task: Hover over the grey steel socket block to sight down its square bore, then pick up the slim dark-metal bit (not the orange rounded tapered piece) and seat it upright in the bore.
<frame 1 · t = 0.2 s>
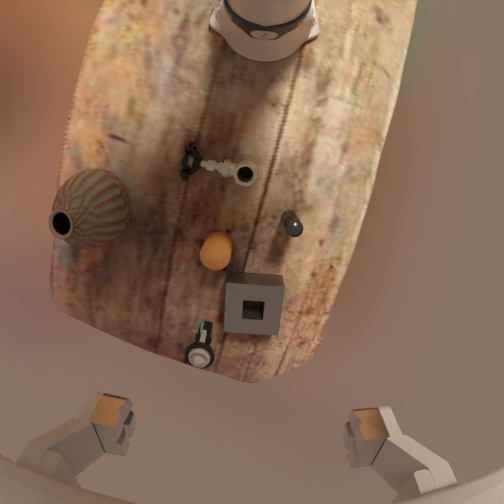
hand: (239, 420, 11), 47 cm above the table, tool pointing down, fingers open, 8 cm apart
bore block: (253, 297, 62), on the table
orange rounded tapered piece: (218, 244, 58), on the table
valve: (223, 166, 54), on the table
push button: (205, 332, 65), on the table
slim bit: (289, 217, 57), on the table
vase: (109, 200, 56), on the table
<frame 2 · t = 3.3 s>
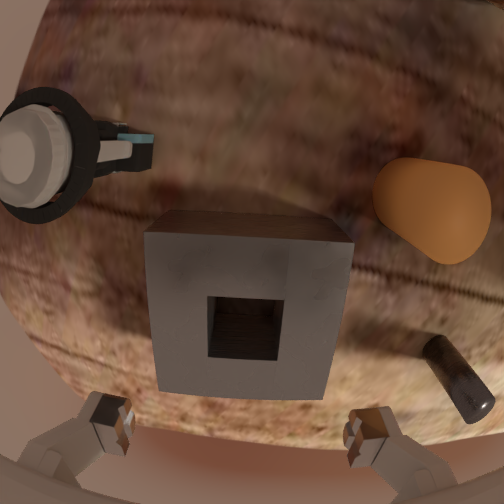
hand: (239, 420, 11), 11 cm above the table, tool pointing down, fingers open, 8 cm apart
bore block: (246, 289, 21), on the table
orange rounded tapered piece: (406, 195, 19), on the table
push button: (111, 146, 18), on the table
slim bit: (435, 348, 23), on the table
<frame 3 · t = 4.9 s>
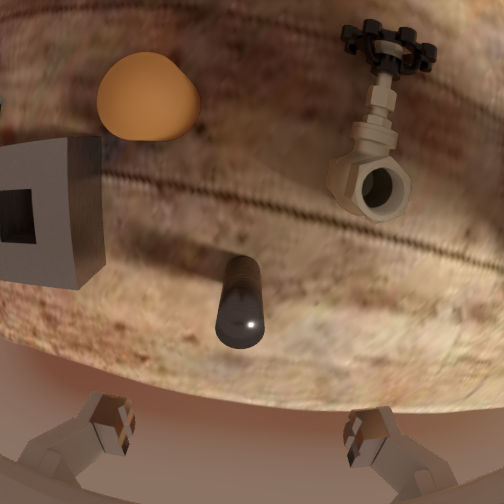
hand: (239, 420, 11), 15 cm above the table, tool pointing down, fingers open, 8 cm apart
bore block: (50, 202, 22), on the table
orange rounded tapered piece: (165, 106, 21), on the table
valve: (358, 126, 21), on the table
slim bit: (242, 272, 24), on the table
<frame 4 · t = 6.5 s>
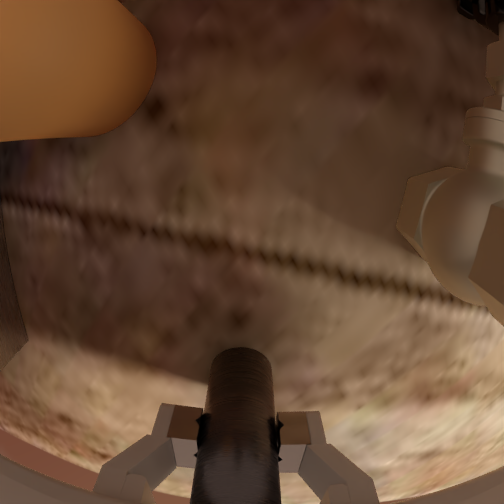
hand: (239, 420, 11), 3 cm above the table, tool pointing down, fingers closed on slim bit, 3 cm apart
orange rounded tapered piece: (93, 72, 9), on the table
valve: (452, 118, 10), on the table
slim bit: (241, 371, 13), on the table, touching gripper
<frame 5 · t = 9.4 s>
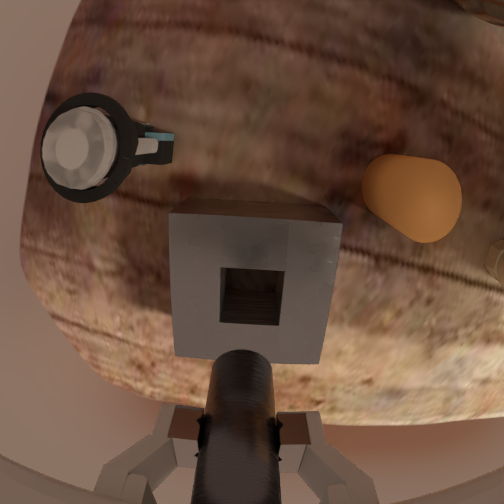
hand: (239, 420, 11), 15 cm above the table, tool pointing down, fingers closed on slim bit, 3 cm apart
bore block: (252, 267, 24), on the table
orange rounded tapered piece: (391, 186, 22), on the table
push button: (136, 143, 22), on the table
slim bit: (242, 373, 13), point 12 cm above the table, touching gripper
when the fingers open (6 cm above the table, at t = 12.2 s): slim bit drops 3 cm, resting in bore block.
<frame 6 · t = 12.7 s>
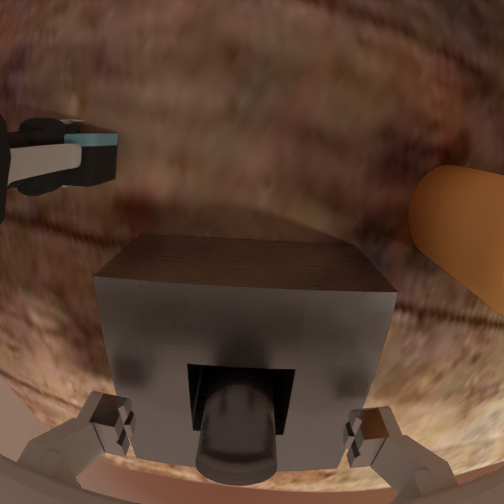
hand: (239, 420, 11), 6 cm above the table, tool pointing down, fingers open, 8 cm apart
bore block: (242, 334, 16), on the table
orange rounded tapered piece: (448, 213, 14), on the table
push button: (67, 151, 13), on the table
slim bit: (243, 335, 16), resting in bore block
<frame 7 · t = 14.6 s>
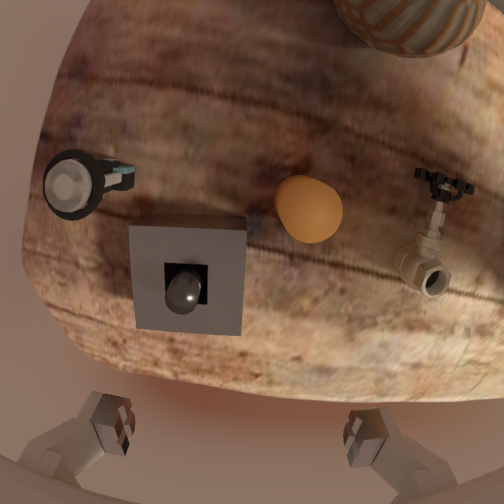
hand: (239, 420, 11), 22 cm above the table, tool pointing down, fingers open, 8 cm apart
bore block: (193, 263, 32), on the table
orange rounded tapered piece: (299, 200, 31), on the table
valve: (415, 225, 32), on the table
push button: (108, 173, 29), on the table
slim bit: (194, 264, 32), resting in bore block
vase: (376, 14, 25), on the table
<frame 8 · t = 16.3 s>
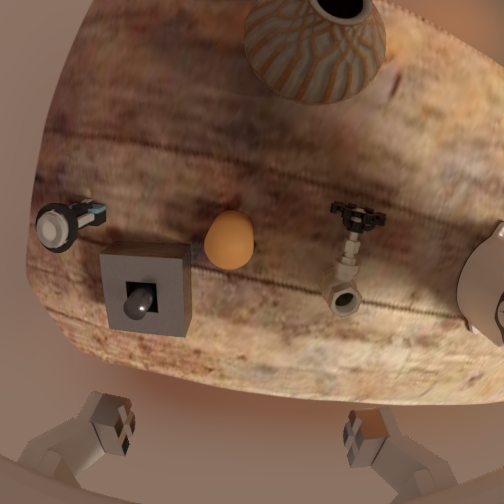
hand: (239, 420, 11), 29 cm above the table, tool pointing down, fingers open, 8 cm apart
bore block: (153, 279, 41), on the table
orange rounded tapered piece: (232, 230, 38), on the table
valve: (340, 249, 39), on the table
push button: (87, 209, 38), on the table
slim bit: (153, 280, 41), resting in bore block
vase: (302, 58, 32), on the table
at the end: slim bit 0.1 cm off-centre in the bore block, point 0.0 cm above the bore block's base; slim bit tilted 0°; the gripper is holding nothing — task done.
